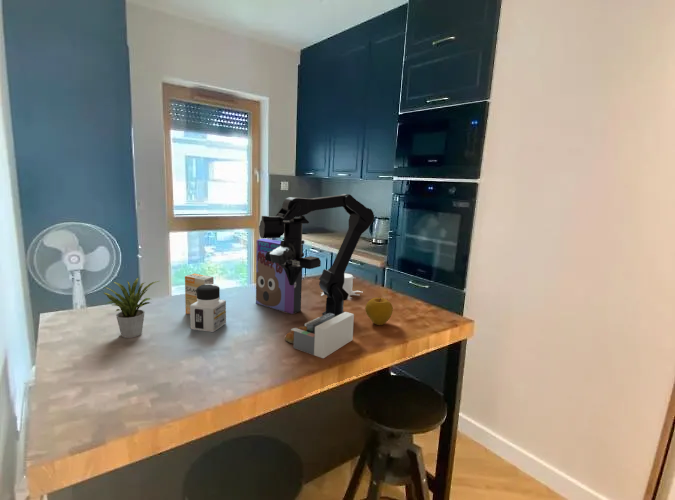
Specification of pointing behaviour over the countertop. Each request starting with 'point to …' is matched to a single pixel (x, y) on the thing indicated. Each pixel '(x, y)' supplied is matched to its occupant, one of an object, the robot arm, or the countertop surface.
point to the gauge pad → (318, 322)
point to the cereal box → (275, 281)
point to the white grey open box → (326, 336)
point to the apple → (379, 310)
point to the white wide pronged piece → (348, 285)
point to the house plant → (130, 309)
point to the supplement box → (194, 288)
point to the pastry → (290, 335)
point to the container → (208, 309)
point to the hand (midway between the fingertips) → (291, 285)
